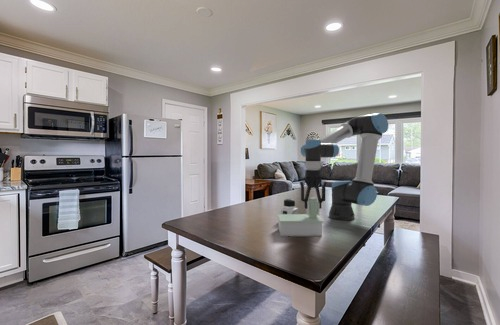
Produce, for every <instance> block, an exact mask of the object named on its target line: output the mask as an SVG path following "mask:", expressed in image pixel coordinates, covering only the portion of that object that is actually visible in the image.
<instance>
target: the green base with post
mask: <svg viewBox="0 0 500 325" xmlns="http://www.w3.org/2000/svg"><path fill="white" fill-rule="evenodd" d="M308 202H309V216H308V215H307V213H302V214H301V213H298V214H281V213H280V214H277V219H278V222H279V221H280V223H322V224H323V223H324V220H323V219H322V218H321V217H320V215H317V202H318V198H317V197H315V196H313V197H310V196H309V198H308Z"/></svg>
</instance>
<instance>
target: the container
mask: <svg viewBox="0 0 500 325" xmlns="http://www.w3.org/2000/svg"><path fill="white" fill-rule="evenodd" d="M280 214H299V208H298V207H296V201H295V200H294V199H292V198H285V199H284V200H283V208H280Z"/></svg>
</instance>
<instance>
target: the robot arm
mask: <svg viewBox="0 0 500 325" xmlns="http://www.w3.org/2000/svg"><path fill="white" fill-rule="evenodd" d="M388 129H389V121H388V119H387V117H386V116H385V115H384V114H383V113H381V112H378V113H371V114H370V113H369V114H365V115H363V114H362V115H358V116H355V117H353V118H351V119H348V120H347V121H345V122H343V123H342V124H340V126H339V127H338V128H336V129H334V130H332V131H331V132H329V133H327V134H325V135H323V136H321V137H320V138H309V139H306V140H305V144H303V145H302V146H301V147H300V154H301V155H302V157H304V159H305V169H306V170H305V172H304V174H305V178H304V180H302V181H299V186H300V201H301V202H303V203H304V209H306V214H307V215H308V216H309V197H310V193H311V190H312V188H313V189H314V190H315V194H316V199H317V215H318V216H320V209H322V203H323V202H325V201H326V186H327V181H323V180H322V177H321V176H322V174H321V171H322V170H321V167H322V166H321V165H322V164H321V163H322V162H321V161H322V160H321V159H322V158H331V159H332V158H337V156H338V155H339V153H340V148H339V145H338V143H340V142H342V141H343V140H344V139H347V138H352V137H355V136H360V138H361V144H360V148H359V155H358V160H357V168H356V172H355V177H354V178H352V180H338V181H333V182H332V184H331V206H330V209H329V212H328V217H329V218H330V219H332V220H338V221H352V220H354V219H355V212H354V208H353V207H352V205H353V204H355V205H359V206H364V207H369V206H371V205H372V204H374V203H375V201H376V199H377V197H378V191H377V188H376V187H375V186H374V184H375V183H374V182H373V180H372V179H373V174H374V167H375V160H376V156H377V155H376V154H377V151H378V144H379V140H380V139H382V137H383V134H385V133H387V132H388ZM320 184H321V192H320V187H319V186H320ZM305 185H306V186H307V187H306V192H305Z"/></svg>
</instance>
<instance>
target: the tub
mask: <svg viewBox="0 0 500 325" xmlns="http://www.w3.org/2000/svg"><path fill="white" fill-rule="evenodd" d="M278 231H279V235H280V237H281V238H282V237H283V238H284V237H288V236H290V237H323V223H280V221H279V220H278Z"/></svg>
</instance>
